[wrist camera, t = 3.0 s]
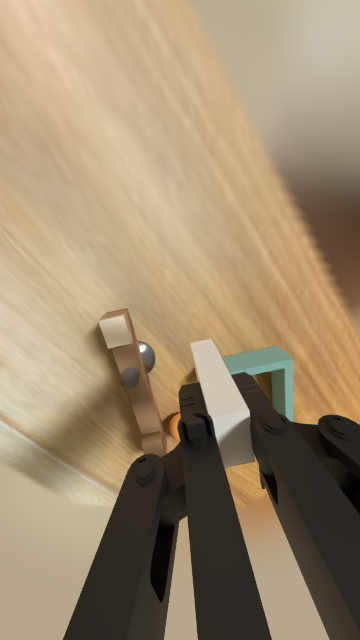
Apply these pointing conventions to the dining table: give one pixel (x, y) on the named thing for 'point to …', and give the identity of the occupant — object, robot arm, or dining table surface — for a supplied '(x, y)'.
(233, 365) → the teal arch
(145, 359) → the pivot base
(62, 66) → the dining table surface
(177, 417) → the ball
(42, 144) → the dining table surface
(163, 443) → the lever
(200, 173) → the dining table surface
